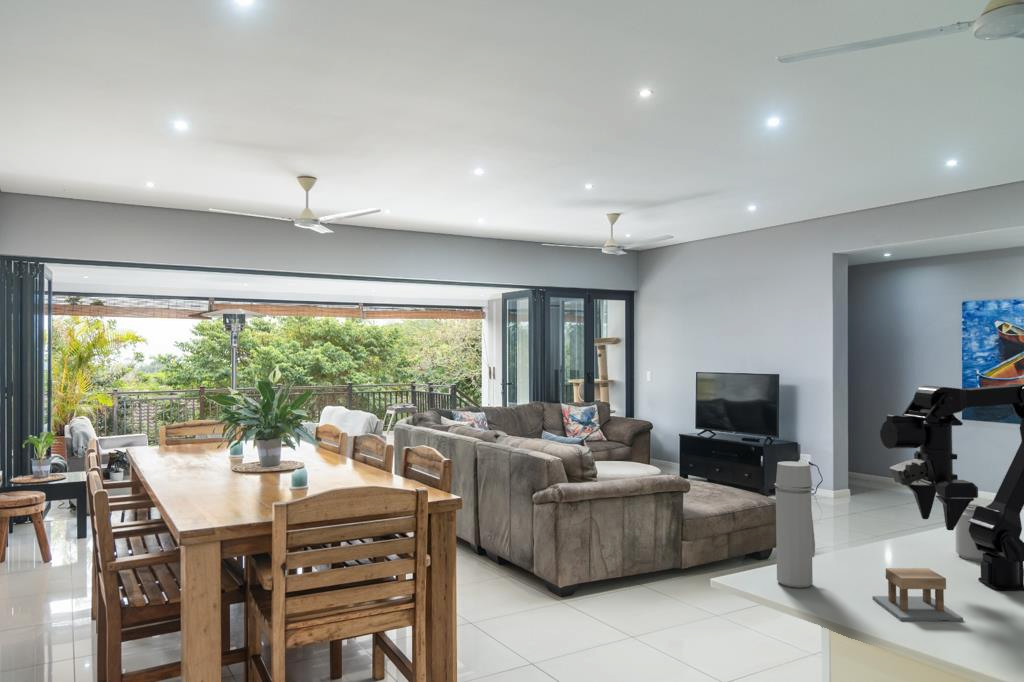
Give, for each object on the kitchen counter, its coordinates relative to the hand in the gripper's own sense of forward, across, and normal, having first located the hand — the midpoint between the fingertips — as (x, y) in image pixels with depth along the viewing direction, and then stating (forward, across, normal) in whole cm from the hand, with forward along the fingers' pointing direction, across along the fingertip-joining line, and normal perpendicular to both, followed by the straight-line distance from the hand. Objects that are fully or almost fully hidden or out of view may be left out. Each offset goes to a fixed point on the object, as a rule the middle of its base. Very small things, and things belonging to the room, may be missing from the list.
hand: (937, 524), depth 145 cm
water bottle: (+13, -3, -27) cm, 30 cm away
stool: (+12, +12, -10) cm, 20 cm away
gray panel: (+13, +12, -10) cm, 21 cm away
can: (+13, -22, +20) cm, 33 cm away
